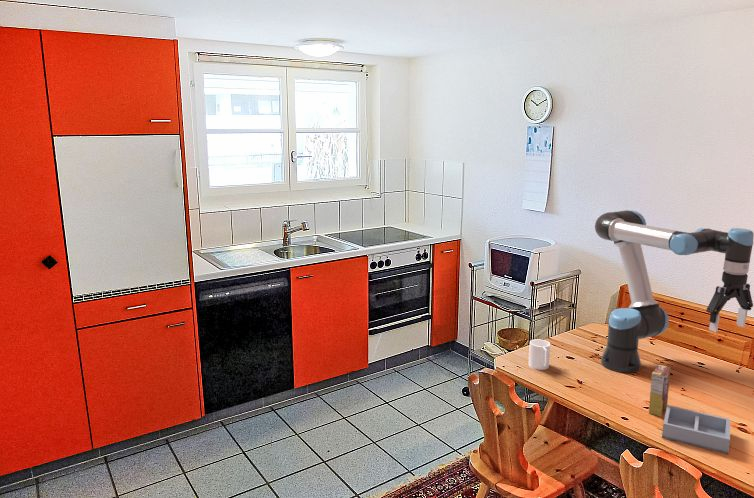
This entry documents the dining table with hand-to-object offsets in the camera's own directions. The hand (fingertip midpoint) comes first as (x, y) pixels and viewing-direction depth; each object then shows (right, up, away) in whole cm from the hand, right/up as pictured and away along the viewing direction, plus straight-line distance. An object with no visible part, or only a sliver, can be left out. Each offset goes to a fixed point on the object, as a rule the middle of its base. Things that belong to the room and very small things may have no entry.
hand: (726, 328), depth 200 cm
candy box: (-29, -28, -7) cm, 41 cm away
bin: (-25, -31, -23) cm, 46 cm away
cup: (-60, -20, +28) cm, 69 cm away
